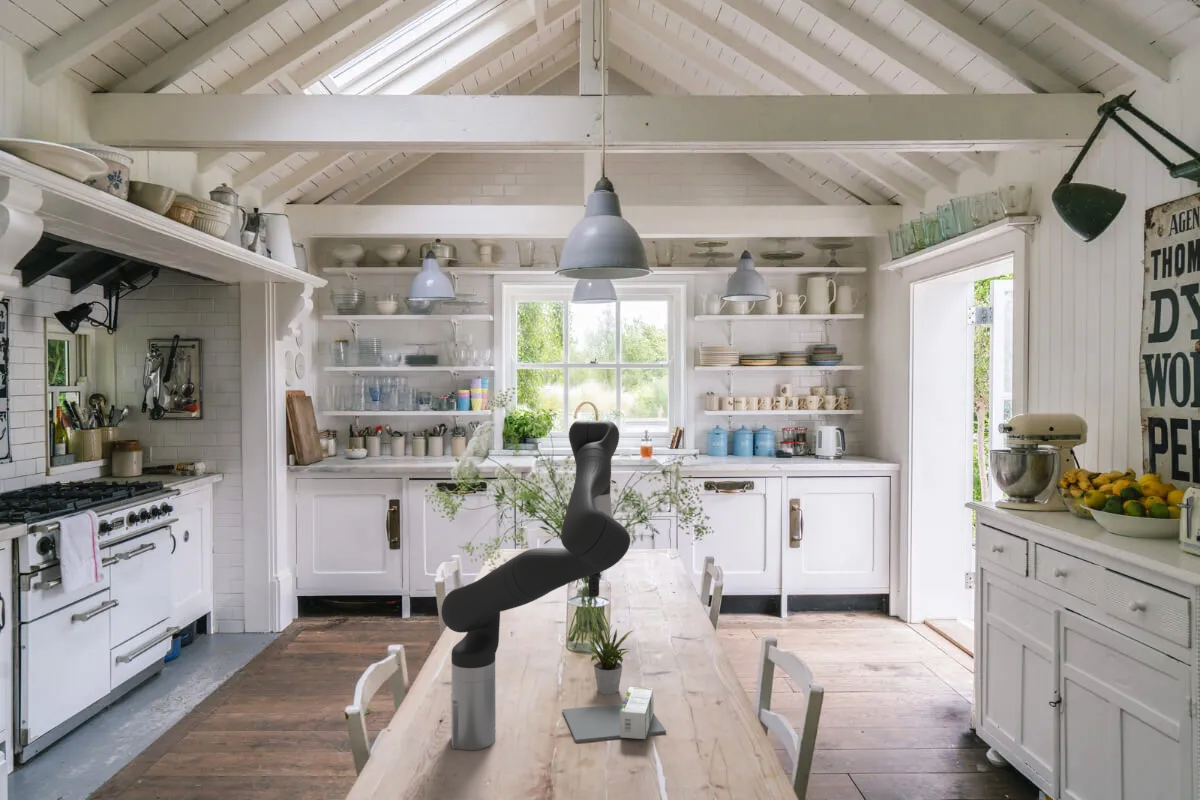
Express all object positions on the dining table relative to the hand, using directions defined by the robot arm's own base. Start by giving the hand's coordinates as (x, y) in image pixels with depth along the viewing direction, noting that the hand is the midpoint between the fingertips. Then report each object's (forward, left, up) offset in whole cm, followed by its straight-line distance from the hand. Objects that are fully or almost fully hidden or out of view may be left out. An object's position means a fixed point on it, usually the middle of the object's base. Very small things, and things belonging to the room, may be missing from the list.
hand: (593, 595), depth 170 cm
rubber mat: (+6, +7, -31) cm, 32 cm away
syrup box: (+8, -3, -28) cm, 29 cm away
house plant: (+8, +26, -31) cm, 41 cm away
